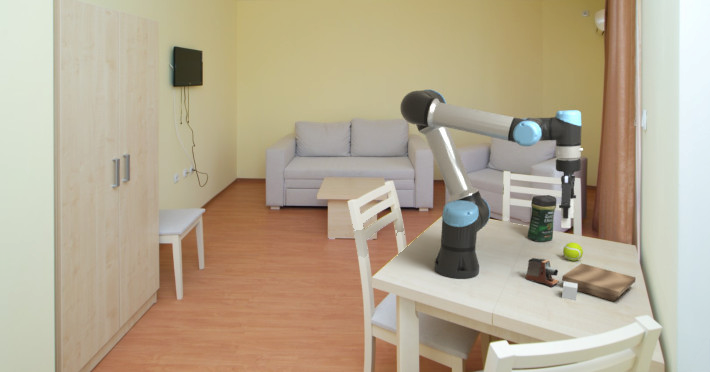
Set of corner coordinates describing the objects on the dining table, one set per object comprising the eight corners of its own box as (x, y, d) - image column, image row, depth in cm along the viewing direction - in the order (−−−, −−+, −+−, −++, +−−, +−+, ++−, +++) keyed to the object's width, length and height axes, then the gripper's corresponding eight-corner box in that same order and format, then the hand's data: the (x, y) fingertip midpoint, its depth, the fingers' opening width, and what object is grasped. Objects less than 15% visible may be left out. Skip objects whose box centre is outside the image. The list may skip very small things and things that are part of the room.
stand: (561, 287, 167) (562, 275, 166) (580, 274, 178) (581, 263, 177) (617, 304, 156) (619, 291, 155) (634, 289, 167) (635, 277, 166)
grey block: (561, 298, 159) (563, 285, 159) (562, 293, 163) (563, 281, 162) (575, 300, 158) (577, 288, 157) (576, 295, 161) (577, 283, 161)
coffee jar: (537, 243, 210) (542, 198, 206) (524, 237, 217) (528, 194, 213) (556, 240, 214) (561, 196, 210) (542, 235, 221) (546, 192, 217)
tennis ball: (564, 262, 189) (566, 245, 188) (560, 256, 196) (562, 239, 194) (583, 264, 188) (586, 246, 187) (579, 257, 195) (581, 240, 193)
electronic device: (553, 288, 166) (555, 266, 165) (525, 279, 173) (526, 258, 172) (559, 284, 169) (561, 262, 168) (531, 276, 176) (533, 255, 175)
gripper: (578, 164, 156) (577, 233, 159) (583, 153, 178) (582, 214, 181) (551, 164, 159) (551, 231, 163) (559, 153, 181) (559, 213, 185)
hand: (567, 222), depth 172 cm, fingers open, 13 cm apart
